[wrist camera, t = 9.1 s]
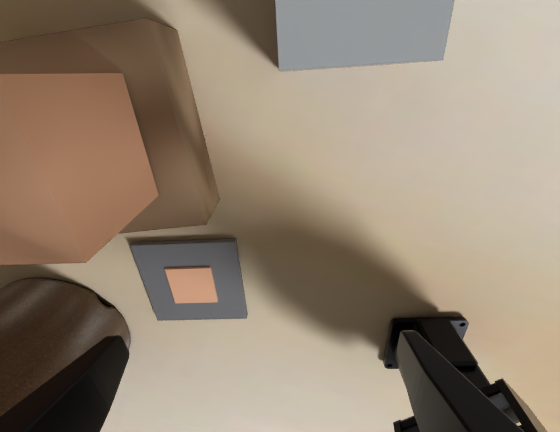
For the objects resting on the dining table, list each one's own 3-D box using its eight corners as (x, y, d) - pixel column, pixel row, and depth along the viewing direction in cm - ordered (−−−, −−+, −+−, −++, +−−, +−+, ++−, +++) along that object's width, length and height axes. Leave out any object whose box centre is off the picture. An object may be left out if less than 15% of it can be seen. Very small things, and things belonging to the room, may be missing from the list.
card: (247, 313, 24) (246, 320, 24) (160, 316, 25) (156, 322, 24) (236, 238, 21) (234, 243, 20) (133, 242, 21) (128, 247, 20)
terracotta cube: (159, 195, 15) (85, 262, 10) (56, 199, 15) (-68, 266, 10) (122, 73, 12) (-8, 74, 7) (-2, 82, 13) (-214, 89, 7)
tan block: (220, 197, 20) (206, 224, 16) (90, 211, 20) (48, 240, 17) (179, 31, 15) (146, 18, 11) (13, 57, 16) (-67, 53, 12)
